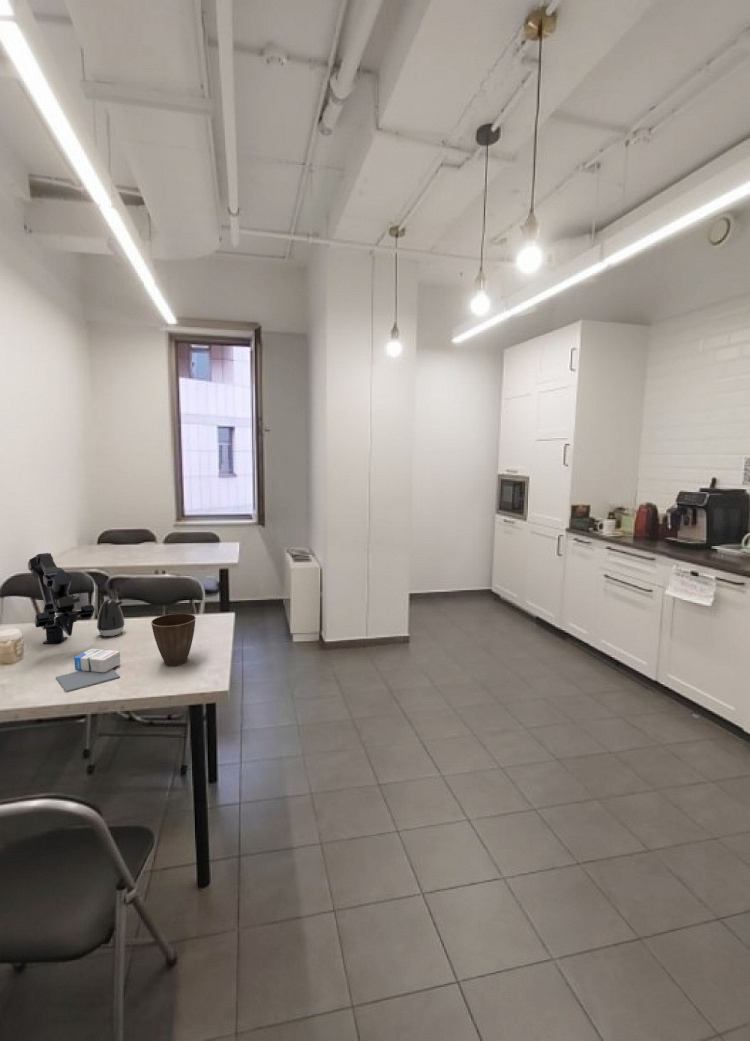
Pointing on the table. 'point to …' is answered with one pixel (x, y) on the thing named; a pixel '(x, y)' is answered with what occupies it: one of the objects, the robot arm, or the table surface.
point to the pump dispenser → (110, 618)
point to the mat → (85, 679)
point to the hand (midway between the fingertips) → (70, 635)
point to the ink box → (97, 660)
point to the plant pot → (174, 637)
